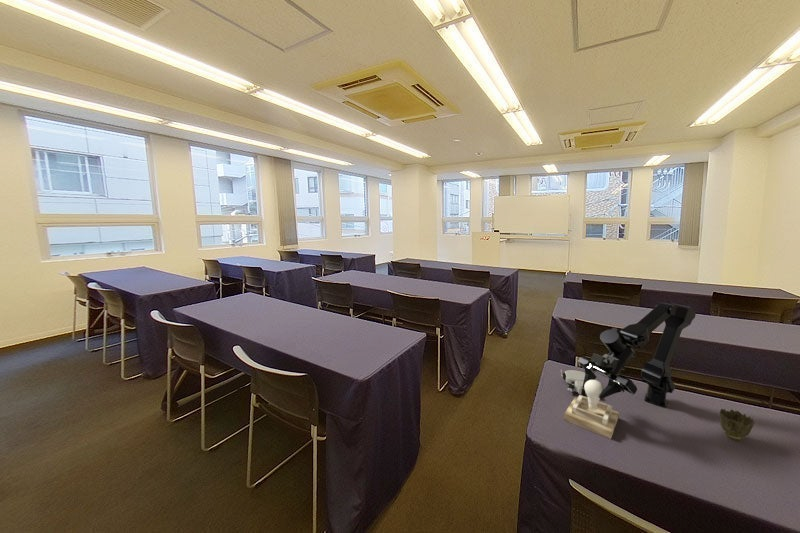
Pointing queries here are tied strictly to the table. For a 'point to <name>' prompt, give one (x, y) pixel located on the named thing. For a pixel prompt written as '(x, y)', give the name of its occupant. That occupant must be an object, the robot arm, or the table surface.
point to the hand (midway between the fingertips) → (591, 393)
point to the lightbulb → (593, 392)
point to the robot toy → (574, 380)
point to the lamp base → (592, 416)
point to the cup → (735, 424)
